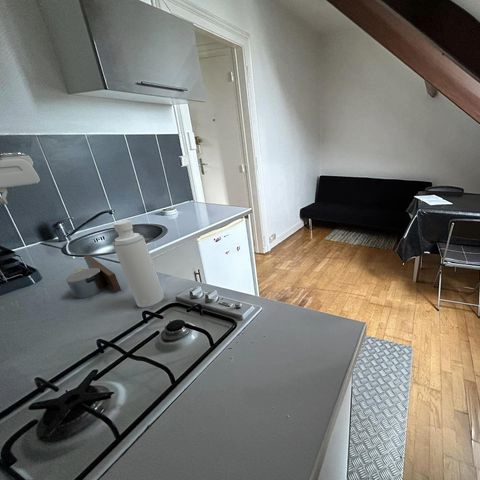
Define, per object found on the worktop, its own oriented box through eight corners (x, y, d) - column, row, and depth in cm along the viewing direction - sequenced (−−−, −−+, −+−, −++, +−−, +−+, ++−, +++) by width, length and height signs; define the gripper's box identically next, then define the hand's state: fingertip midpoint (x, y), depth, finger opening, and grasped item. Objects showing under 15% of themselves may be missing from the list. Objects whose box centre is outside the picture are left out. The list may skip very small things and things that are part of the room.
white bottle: (166, 300, 73) (136, 215, 63) (138, 311, 69) (102, 222, 60) (162, 290, 78) (134, 210, 68) (135, 300, 74) (102, 216, 65)
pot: (81, 302, 75) (72, 284, 72) (69, 293, 80) (60, 276, 77) (113, 288, 81) (106, 271, 79) (99, 281, 86) (92, 265, 84)
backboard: (115, 292, 79) (108, 275, 76) (90, 271, 93) (83, 256, 91) (121, 290, 80) (114, 273, 77) (95, 269, 94) (88, 254, 92)
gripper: (26, 151, 79) (47, 196, 85) (-91, 159, 65) (-57, 212, 70) (29, 151, 76) (51, 197, 81) (-93, 159, 61) (-57, 215, 66)
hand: (0, 204), depth 75 cm, fingers closed
